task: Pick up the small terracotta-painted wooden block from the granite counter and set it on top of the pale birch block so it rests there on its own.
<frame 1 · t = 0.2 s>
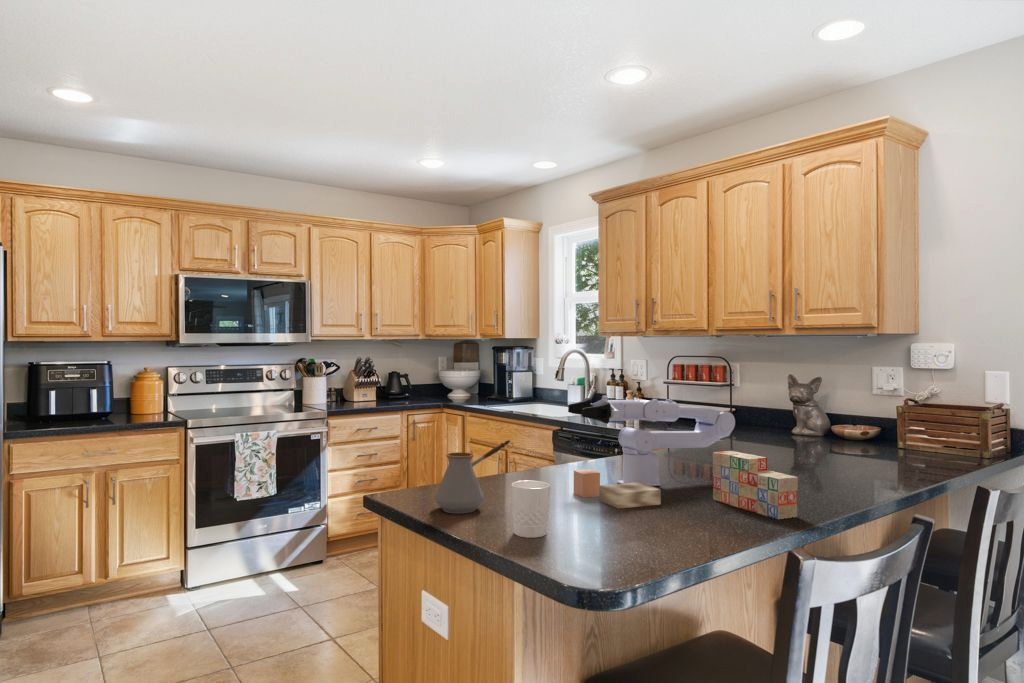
hand: (575, 410, 172), 21 cm above the counter, tool horizontal, fingers open, 7 cm apart
terracotta block: (586, 494, 166), on the counter
birch block: (629, 503, 158), on the counter
stack of blocks: (752, 509, 154), on the counter
coffee pot: (476, 507, 153), on the counter
white cup: (530, 534, 131), on the counter
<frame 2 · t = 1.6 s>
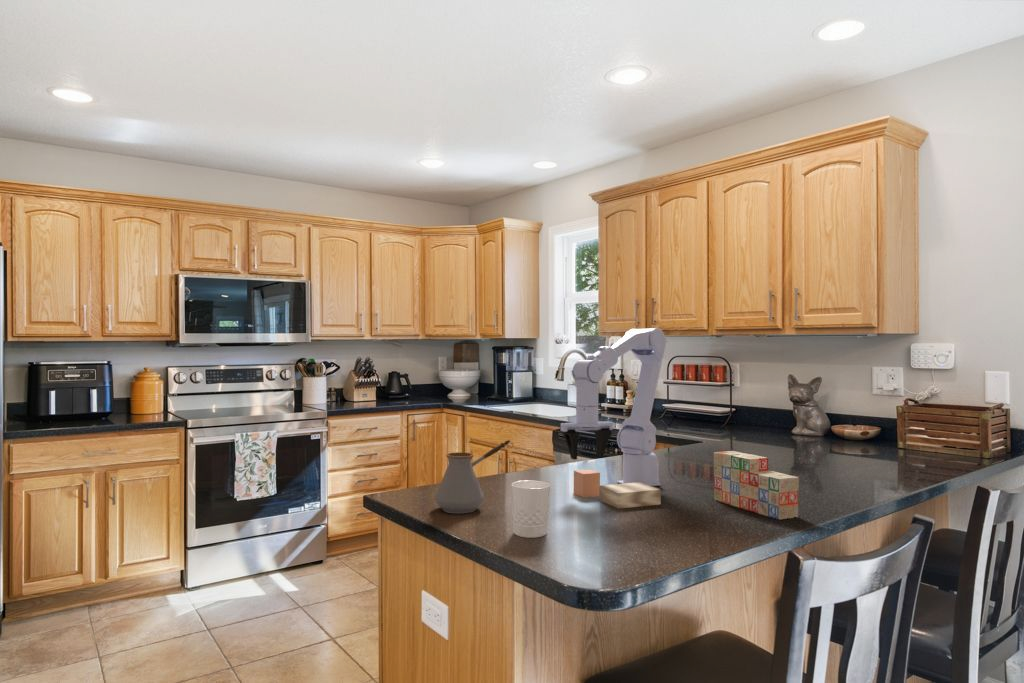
hand: (586, 458, 167), 9 cm above the counter, tool pointing down, fingers open, 7 cm apart
nothing on the counter moved.
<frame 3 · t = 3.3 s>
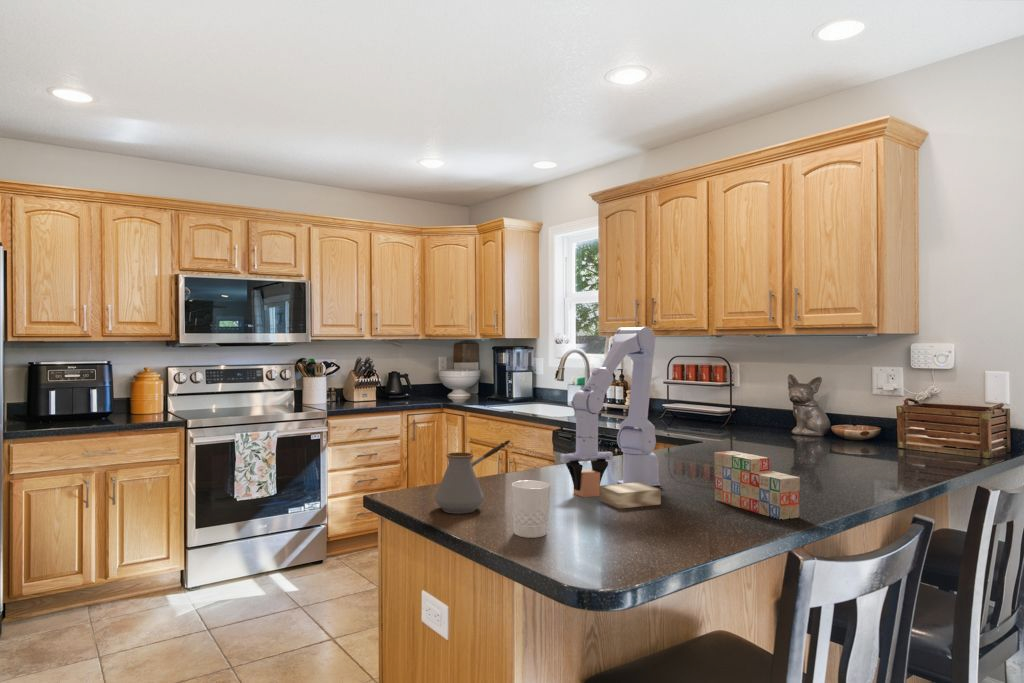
hand: (586, 489, 166), 1 cm above the counter, tool pointing down, fingers closed on terracotta block, 5 cm apart
terracotta block: (586, 494, 166), on the counter, touching gripper
everything else where it was.
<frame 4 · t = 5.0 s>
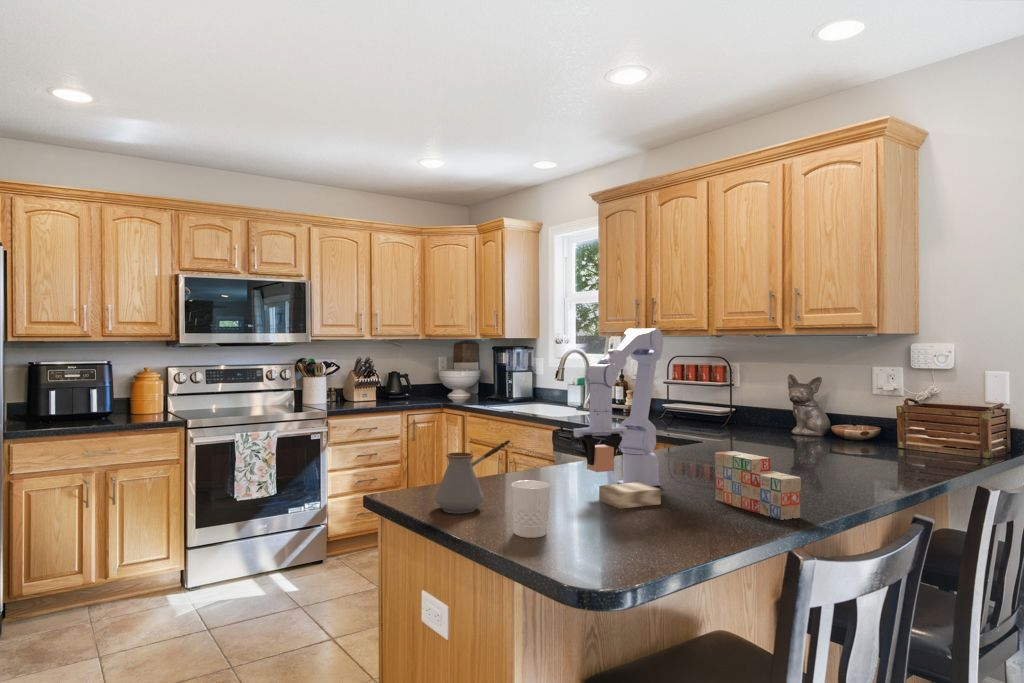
hand: (600, 463, 164), 8 cm above the counter, tool pointing down, fingers closed on terracotta block, 5 cm apart
terracotta block: (600, 469, 164), point 7 cm above the counter, touching gripper
everything else where it was.
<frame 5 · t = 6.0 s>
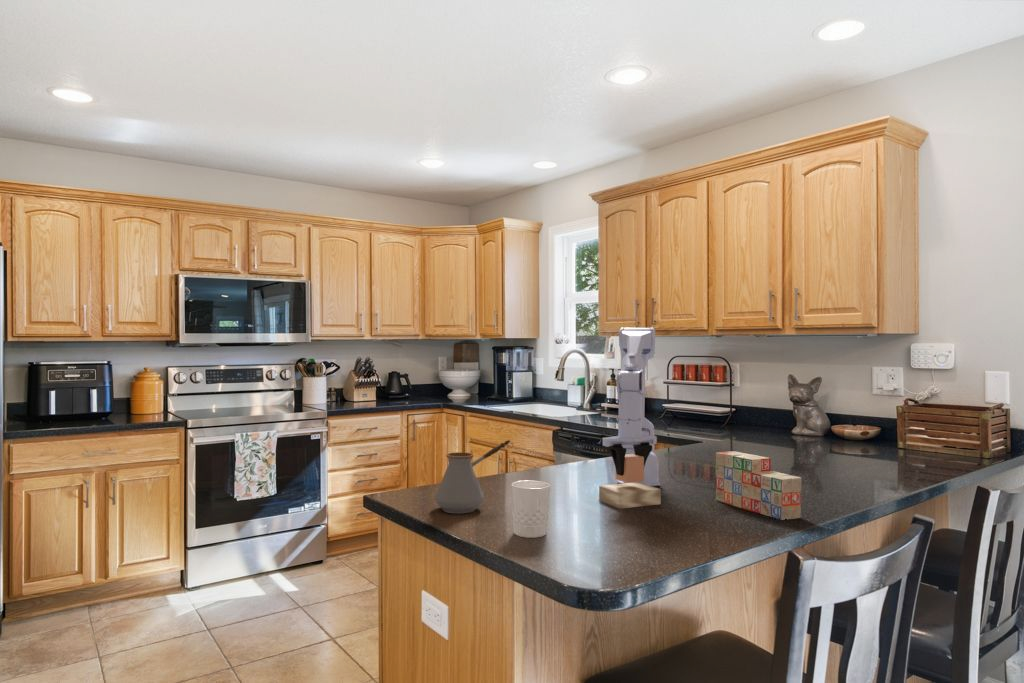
hand: (629, 474, 159), 7 cm above the counter, tool pointing down, fingers closed on terracotta block, 5 cm apart
terracotta block: (629, 480, 159), point 5 cm above the counter, touching gripper
everything else where it was.
when the fingers open (7 cm above the counter, at t = 6.7 s): terracotta block drops 2 cm, point 4 cm above the counter.
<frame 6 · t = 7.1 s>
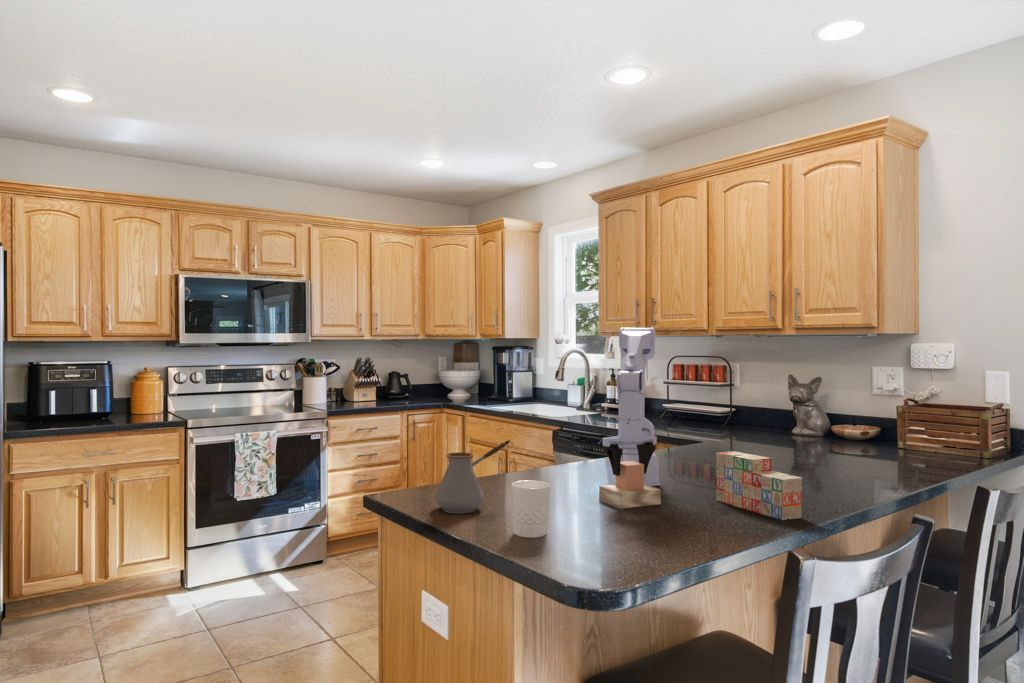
hand: (629, 474, 159), 7 cm above the counter, tool pointing down, fingers open, 7 cm apart
terracotta block: (629, 487, 159), point 4 cm above the counter
everything else where it was.
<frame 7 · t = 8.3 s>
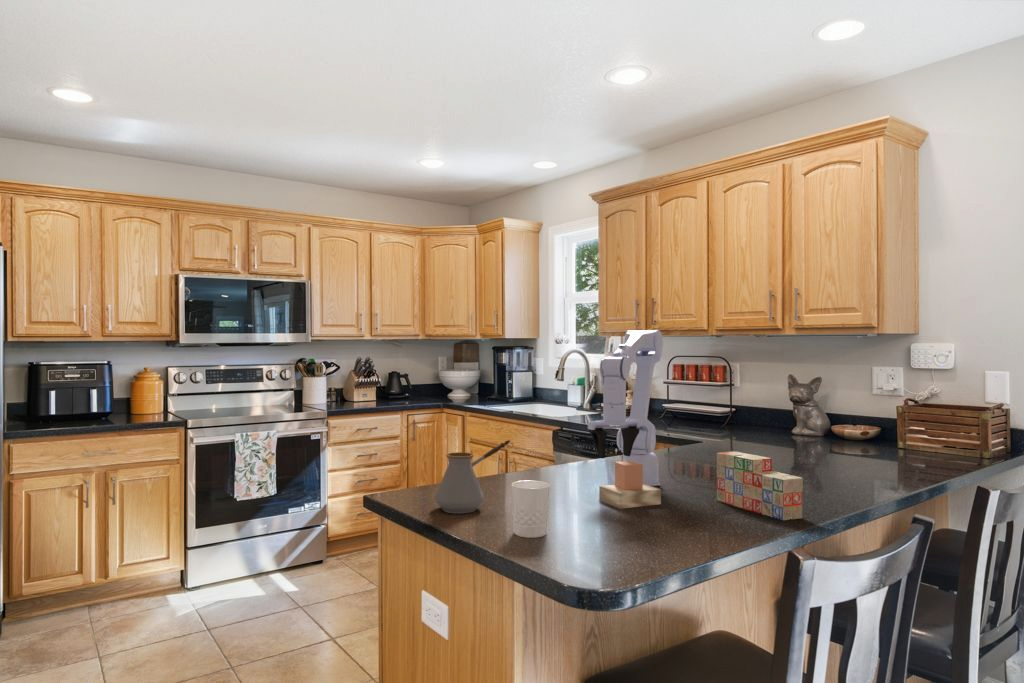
hand: (614, 456, 164), 10 cm above the counter, tool pointing down, fingers open, 7 cm apart
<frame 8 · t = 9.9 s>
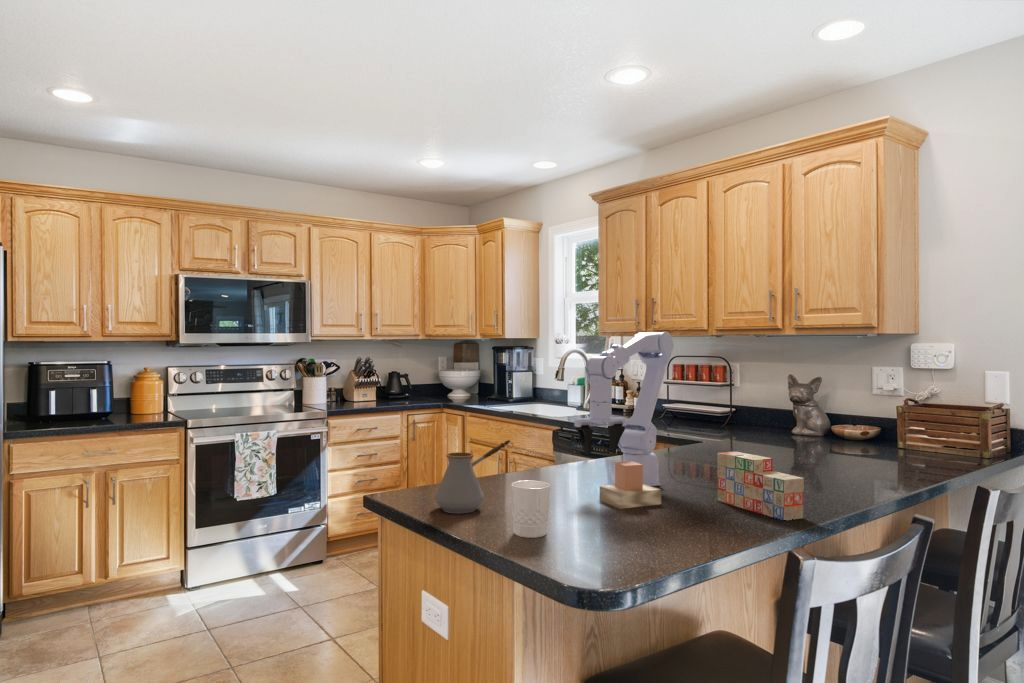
hand: (600, 453, 168), 10 cm above the counter, tool pointing down, fingers open, 7 cm apart
terracotta block: (628, 487, 158), point 4 cm above the counter, touching birch block
birch block: (629, 504, 158), on the counter, touching terracotta block
at the end: terracotta block inside the target area on the birch block (0.4 cm from its centre), point 4.0 cm above the birch block's base; terracotta block tilted 0°; the gripper is holding nothing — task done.
